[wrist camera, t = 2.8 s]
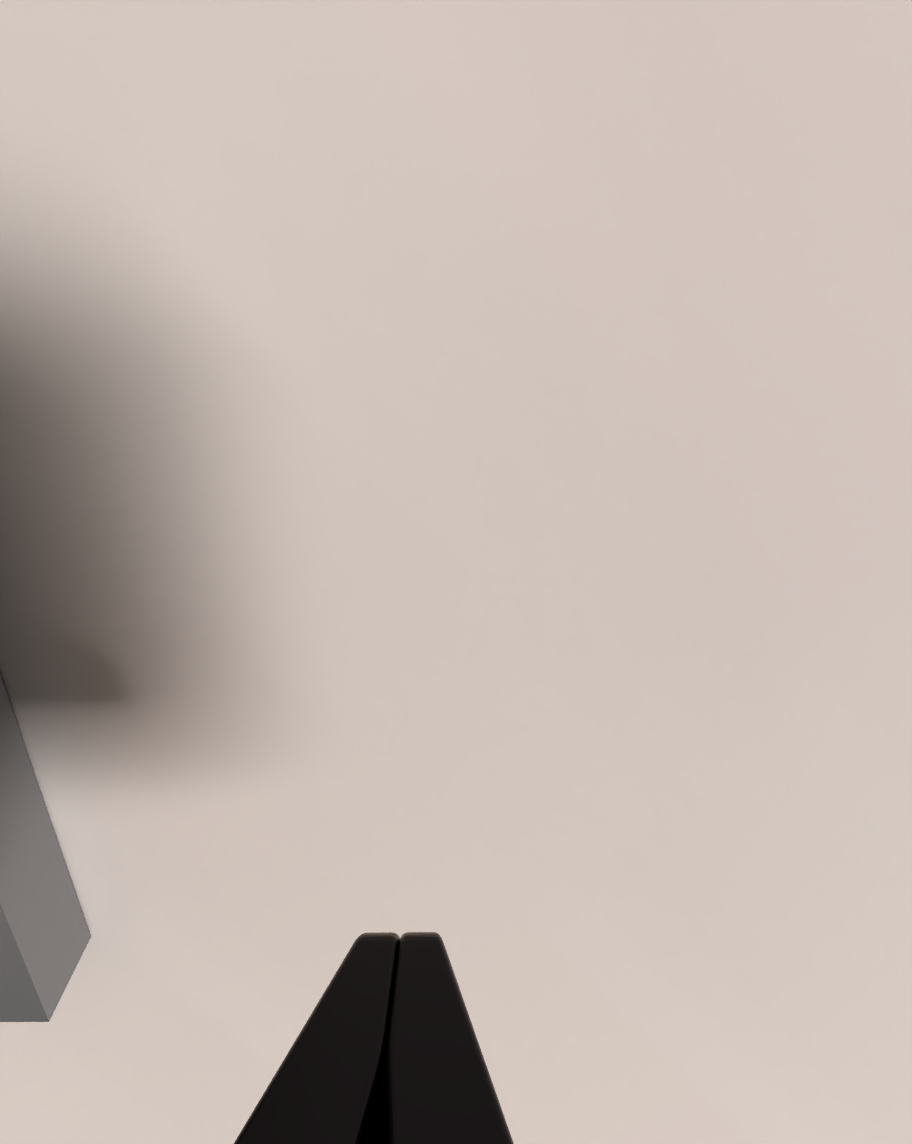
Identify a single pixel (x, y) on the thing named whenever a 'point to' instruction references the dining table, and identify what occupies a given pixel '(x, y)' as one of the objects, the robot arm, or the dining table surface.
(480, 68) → the dining table surface
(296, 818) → the dining table surface
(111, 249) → the dining table surface
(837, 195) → the dining table surface
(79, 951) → the board
